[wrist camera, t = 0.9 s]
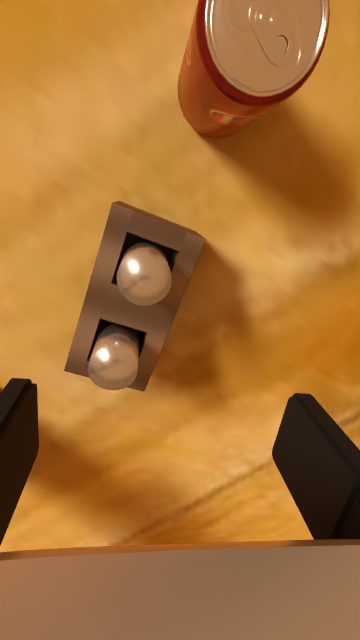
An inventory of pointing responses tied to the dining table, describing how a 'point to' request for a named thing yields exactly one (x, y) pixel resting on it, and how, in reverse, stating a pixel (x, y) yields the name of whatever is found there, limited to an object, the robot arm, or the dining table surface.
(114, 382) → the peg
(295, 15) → the soda can
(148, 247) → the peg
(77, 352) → the walnut block
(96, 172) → the dining table surface
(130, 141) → the dining table surface
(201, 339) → the dining table surface
